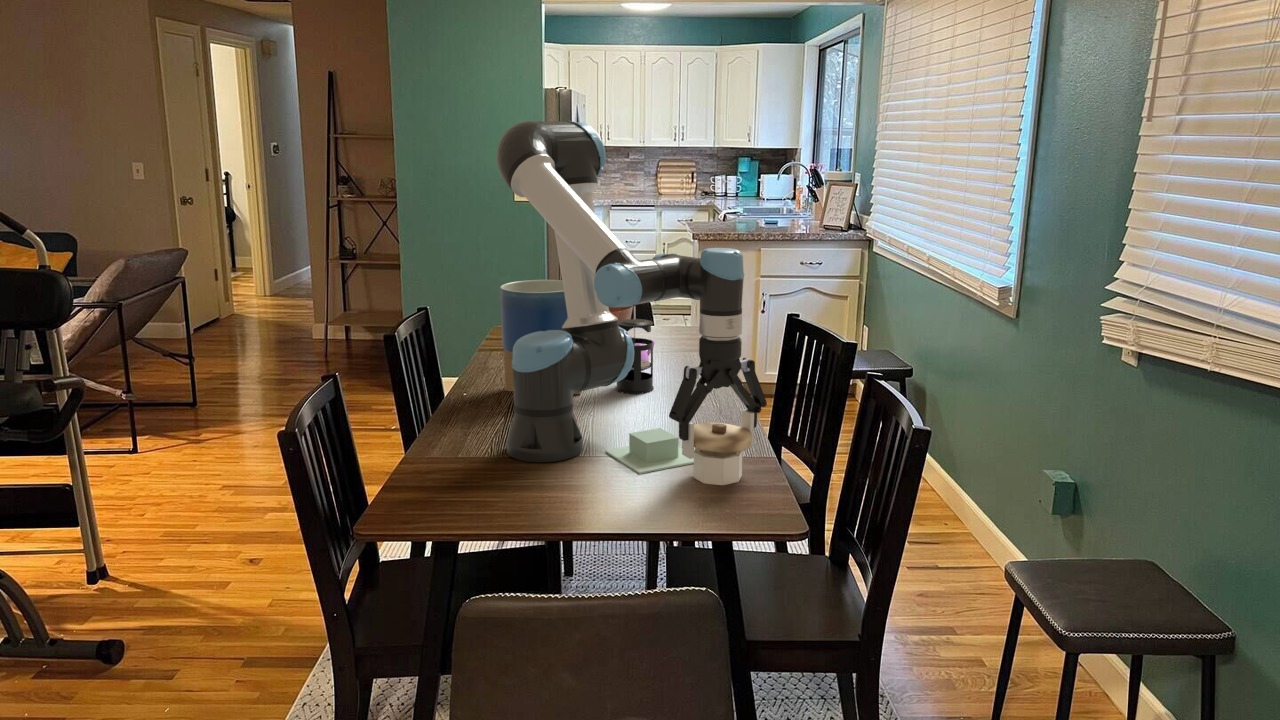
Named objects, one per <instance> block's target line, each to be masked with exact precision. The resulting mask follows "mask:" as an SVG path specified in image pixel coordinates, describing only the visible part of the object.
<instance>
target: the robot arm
mask: <svg viewBox="0 0 1280 720" xmlns="http://www.w3.org/2000/svg"><path fill="white" fill-rule="evenodd" d="M606 156H607V155H606V148H605V145H604V142H603V139H602V138H601V136H600V134H599V133H598V132H597V131H596V130H595V129H594V128H593V127H592V126H591V125H589V124H587V123H584V122H578V121H577V122H576V121H572V120H566V121H563V120H561V121H560V120H559V121H555V120H554V121H545V120H544V121H540V120H539V121H536V120H525V121H521V122H518V123H516V124H513V125H512V126H511V127H510V128H508V129H507V130H506V131H505V132H504V133H503V135H502V136H501V138H500V140H499V143H498V145H497V149H496V165H497V168H498V171H499V174H500V176H501V178H502V179H503V181H504V183H505V184H507V186H508V188H509V189H510V190H511V191H512V192H513V193H514V195H516V196H518V197H520V198H526V200H527V202H528V203H530V204H531V205H532V206H533V208H534V209H535V210H536V211H537V212H538V213H539V215H541V217H542V218H543V219H544V220H545V221H546V222H547V224H548V225H550V227H551V228H552V229H553V230H554V237H555V243H556V248H557V255H558V261H559V269H560V275H561V280H562V283H563V289H564V296H565V302H566V309H567V316H568V317H567V320H566V321H565V323H564V324H563V325H562V330H547V331H538V332H534V333H530V334H527V335H525V336H523V337H521V338H519V339H518V340H517V341H516V342H515V344H514V347H513V359H512V367H513V385H514V390H513V406H514V407H513V408H514V410H513V411H514V414H513V419H512V420H511V424H510V427H509V430H508V434H507V439H506V453H507V455H508V456H510V457H511V458H513V459H516V460H518V461H523V462H530V463H552V462H561V461H564V460H568V459H569V460H570V459H572V458H574V457H576V456H578V455H580V454H581V453H582V452H583V449H584V447H583V445H584V443H583V435H582V433H581V430H580V428H579V424H578V421H577V419H576V416H575V413H574V393H577V392H582V393H583V392H586V391H589V390H593V389H597V388H601V387H608V386H611V385H612V384H615V383H617V382H618V381H620V380H622V379H624V378H625V377H626V376H627V374H628V372H629V371H630V370H631V368H632V365H633V361H634V346H633V342H632V339H631V338H632V337H630V336H628V335H629V332H628V331H626V330H624V329H623V328H620V327H619V325H618V318H617V317H615V316H614V315H613V314H611V313H610V311H609V308H608V307H611V308H616V307H630V306H633V305H636V306H637V305H642V304H647V303H651V302H659V301H664V300H670V299H677V298H684V299H690V300H697V301H699V323H698V324H699V325H698V326H699V331H698V333H699V334H700V335H701V336H700V337H699V339H698V342H699V343H698V345H699V347H698V353H699V354H698V356H699V360H700V363H699V365H698V366H689V365H685V366H684V368H683V378H682V381H681V384H680V386H679V388H678V391H677V392H676V393H677V394H676V396H675V398H674V401H673V404H672V407H671V409H670V412H669V414H668V417H669V418H670V419H671V420H673V421H675V422H677V423H678V439H680V440H681V442H682V443H681V445H682V447H681V448H682V455H684V456H686V457H688V458H689V459H692V458H694V450H695V447H694V424H695V423H694V422H692V419H693V418H694V416H695V415H696V413H697V411H698V410H699V408H700V407H701V406H702V404H703V402H705V400H706V397H707V396H708V395H709V394H710V393H711V392H712V391H713V390H714V389H715V390H718V389H720V388H722V387H723V388H729V387H731V389H732V390H733V392H735V394H736V395H737V397H738V398H739V400H740V401H741V402H742V404H743V405H744V407H745V408H746V409H745V408H744V409H742V412H741V417H742V418H741V427H742V428H745V429H747V430H749V431H750V432H751V433H752V441H751V447H750V448H753V447H754V436H755V435H754V434H755V428H757V425H758V414H759V413H762V408H765V407H767V404H768V402H767V400H766V397H765V394H764V392H763V388H762V386H761V383H760V381H759V378H758V376H757V372H756V362H755V360H754V359H751V358H748V357H743V358H742V359H741V357H742V345H743V344H742V341H743V340H742V338H741V337H740V336H741V335H742V334H743V333H742V330H743V294H744V279H745V272H744V270H745V269H744V257H743V253H742V252H741V250H738V249H736V248H730V247H726V248H725V247H724V248H723V247H710V248H709V247H708V248H704V249H703V250H702V251H701V252H700V257H696V256H695V257H693V256H688V255H687V256H686V255H679V254H677V253H658V254H656V255H655V256H653V257H652V258H650V259H648V258H647V259H638V258H636V257H635V255H634V254H633V253H632V252H631V251H630V250H629V249H628V248H627V247H626V246H625V245H624V244H623V242H622V241H621V240H620V239H619V238H618V237H617V236H616V235H615V234H614V233H613V231H611V230H610V228H608V226H607V225H606V224H605V223H604V222H603V221H602V220H601V219H600V217H599V216H598V215H597V214H596V213H595V207H594V206H595V205H594V201H593V194H594V192H595V191H596V189H597V188H598V187H599V183H598V177H599V176H601V174H602V173H603V171H604V167H603V166H604V165H606ZM633 307H634V306H633ZM740 359H741V360H740ZM740 372H742V374H743V377H744V380H745V382H746V385H747V388H748V389H746V387H745V386H744V384H743V382H742V380H741V379H740V377H739V376H738V374H739V373H740ZM699 376H700V377H699ZM697 380H698V381H697ZM748 390H749V391H748Z"/></svg>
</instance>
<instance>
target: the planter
mask: <svg viewBox="0 0 1280 720" xmlns="http://www.w3.org/2000/svg"><path fill="white" fill-rule="evenodd" d="M499 289H500V291H499V292H500V316H501V317H500V318H501V320H500V322H501V342H502V343H501V345H502V348H503V353H504V354H503V356H504V357H503V358H504V359H503V360H504V382H505V383H504V384H505V388H504V389H505V391H506V392H507V391H508V392H514V385H513V367H512V359H513V347H514V344H515V342H516V341H517V340H518V339H519V338H521V337H523V336H525V335H527V334H530V333H534V332H538V331H547V330H562V325H563V324H564V323H565V321H566V320H567V317H568V316H567V309H566V302H565V296H564V289H563V283H562V279H560V280H559V279H531V280H529V279H528V280H518V281H511V282H507V283H504V284H502V285H500V287H499ZM574 394H581V395H582V394H583V391H582V392H577V393H574ZM574 394H573V395H574Z"/></svg>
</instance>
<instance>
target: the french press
mask: <svg viewBox="0 0 1280 720" xmlns="http://www.w3.org/2000/svg"><path fill="white" fill-rule="evenodd" d="M636 306H637V305H633V318H631V319H625V320H620V321H618V325H619V327H620V328H623V329H624V330H626V331H627V332H628V331H630V330H632V329H633V337H631V339H632V342H633V346H634V361H633V365H632V368H631V370H630V371H629V372H628V374H627V376H626V377H625V378H624V379H622V380H620V381H618V382H616V386H615V391H617V390H618V391H619V393H621V392H623V393H622V394H626V393H629V394H628V395H641V393H643V394H648V393H651V392H652V390H653V391H654V386H653V385H654V383H653V382H654V375H653V374H654V361H653V360H654V359H653V358H654V347H653V341H651V340H652V339H651V340H650V339H648V338H640V337H636V328H637V329H642V330H644V331H645V332H647V333H651V332H652V325H653V324H654V322H653V321H652V320H649V319H643V318H642V319H641V318H636ZM635 343H640V344H643V345H642V346H635ZM650 349H651V353H650V361H649V362H648V361H643V360H641V351H645V350H646V351H648V350H650ZM647 369H650V373H648V372H643V371H645V370H647ZM618 391H617V392H618ZM650 391H651V392H650ZM647 392H648V393H647Z"/></svg>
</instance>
